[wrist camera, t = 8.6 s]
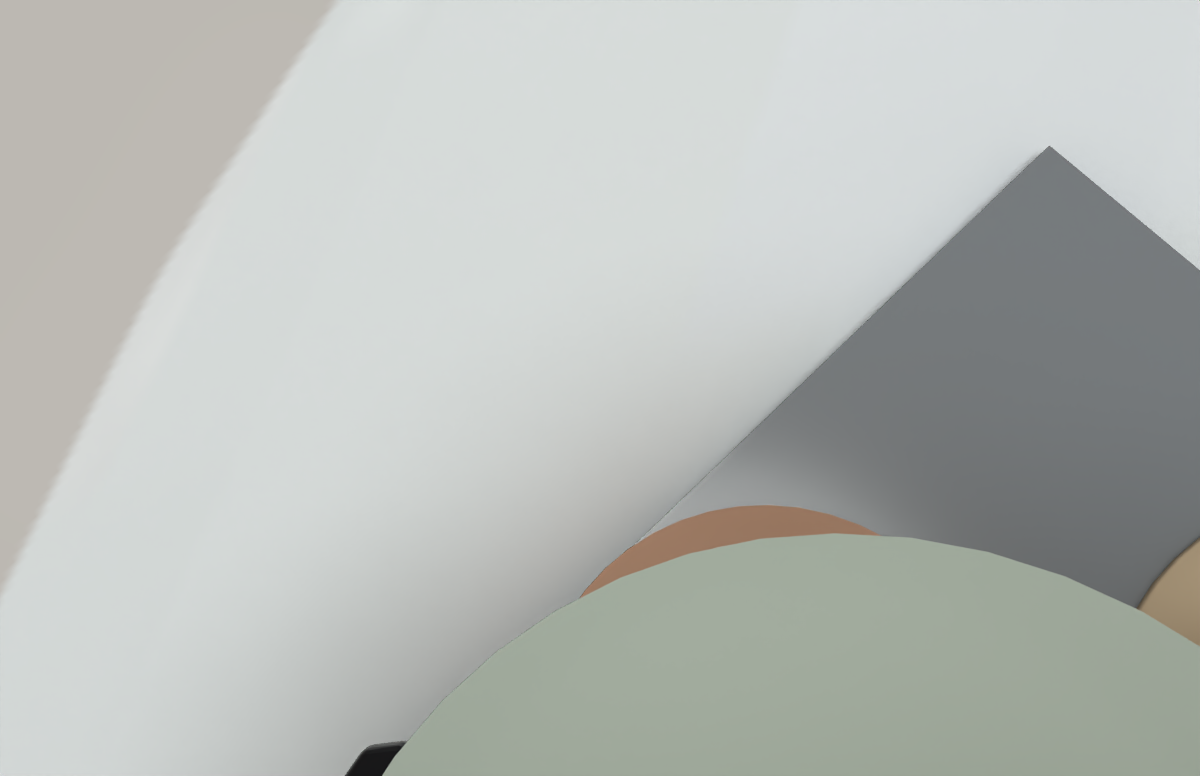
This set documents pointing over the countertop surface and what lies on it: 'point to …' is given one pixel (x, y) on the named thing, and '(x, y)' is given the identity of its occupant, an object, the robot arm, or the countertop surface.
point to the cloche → (827, 673)
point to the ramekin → (723, 535)
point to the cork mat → (1177, 595)
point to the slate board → (1007, 398)
